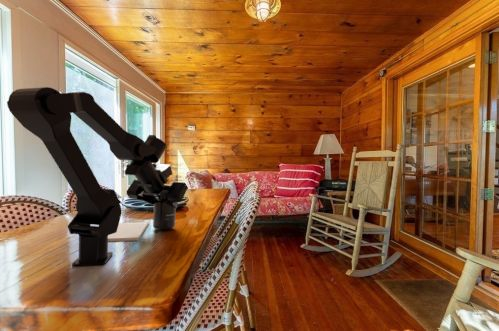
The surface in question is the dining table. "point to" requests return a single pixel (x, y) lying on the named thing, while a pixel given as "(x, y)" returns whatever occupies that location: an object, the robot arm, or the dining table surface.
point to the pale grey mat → (128, 231)
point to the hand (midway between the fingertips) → (167, 206)
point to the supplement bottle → (163, 213)
